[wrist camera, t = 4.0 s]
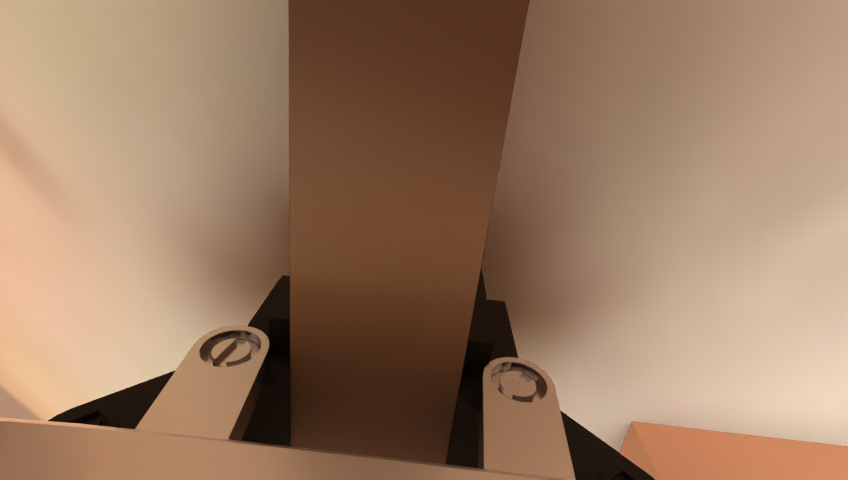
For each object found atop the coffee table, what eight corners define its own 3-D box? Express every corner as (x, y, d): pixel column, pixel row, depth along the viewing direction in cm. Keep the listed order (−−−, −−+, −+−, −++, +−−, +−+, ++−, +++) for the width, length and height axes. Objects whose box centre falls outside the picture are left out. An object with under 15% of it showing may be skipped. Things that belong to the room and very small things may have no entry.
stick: (361, -101, 9) (288, -249, 5) (509, -83, 9) (567, -214, 5) (332, 510, 16) (292, 673, 11) (415, 519, 16) (405, 686, 11)
